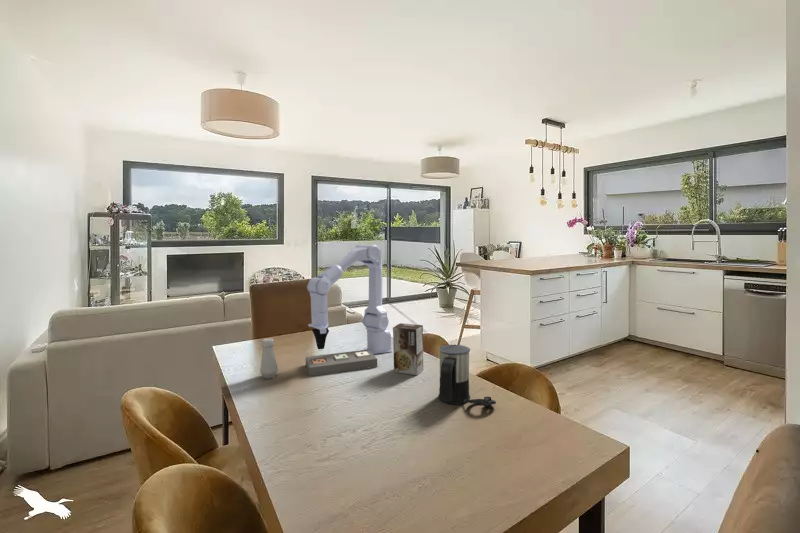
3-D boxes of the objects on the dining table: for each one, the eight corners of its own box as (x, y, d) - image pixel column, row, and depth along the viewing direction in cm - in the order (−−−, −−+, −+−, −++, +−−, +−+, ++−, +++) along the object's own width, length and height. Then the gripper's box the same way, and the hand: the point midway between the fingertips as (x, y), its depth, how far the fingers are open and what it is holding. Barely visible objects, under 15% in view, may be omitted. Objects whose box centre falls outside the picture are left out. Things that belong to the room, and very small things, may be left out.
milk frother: (438, 390, 119) (438, 343, 117) (490, 392, 117) (491, 344, 116) (438, 412, 104) (438, 359, 103) (498, 414, 103) (498, 360, 102)
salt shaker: (281, 374, 134) (280, 337, 132) (271, 380, 128) (269, 342, 127) (267, 372, 136) (266, 336, 134) (256, 378, 130) (254, 340, 129)
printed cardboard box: (424, 369, 137) (423, 324, 135) (417, 375, 131) (416, 329, 129) (400, 366, 141) (400, 322, 139) (392, 372, 135) (392, 326, 133)
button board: (368, 356, 151) (368, 349, 151) (377, 366, 140) (377, 358, 140) (305, 364, 143) (305, 357, 143) (310, 376, 132) (309, 367, 131)
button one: (366, 357, 147) (366, 350, 147) (369, 361, 143) (369, 354, 143) (355, 358, 145) (355, 352, 145) (358, 362, 141) (357, 355, 141)
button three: (324, 364, 142) (324, 357, 141) (326, 368, 137) (326, 361, 137) (312, 366, 140) (311, 359, 140) (313, 370, 136) (313, 363, 136)
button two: (345, 360, 144) (345, 353, 144) (348, 363, 140) (348, 356, 140) (334, 361, 143) (333, 354, 142) (336, 365, 139) (336, 358, 138)
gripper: (305, 308, 143) (306, 344, 144) (310, 316, 129) (312, 356, 130) (324, 306, 145) (325, 342, 146) (331, 314, 131) (333, 353, 133)
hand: (320, 348), depth 138 cm, fingers closed
